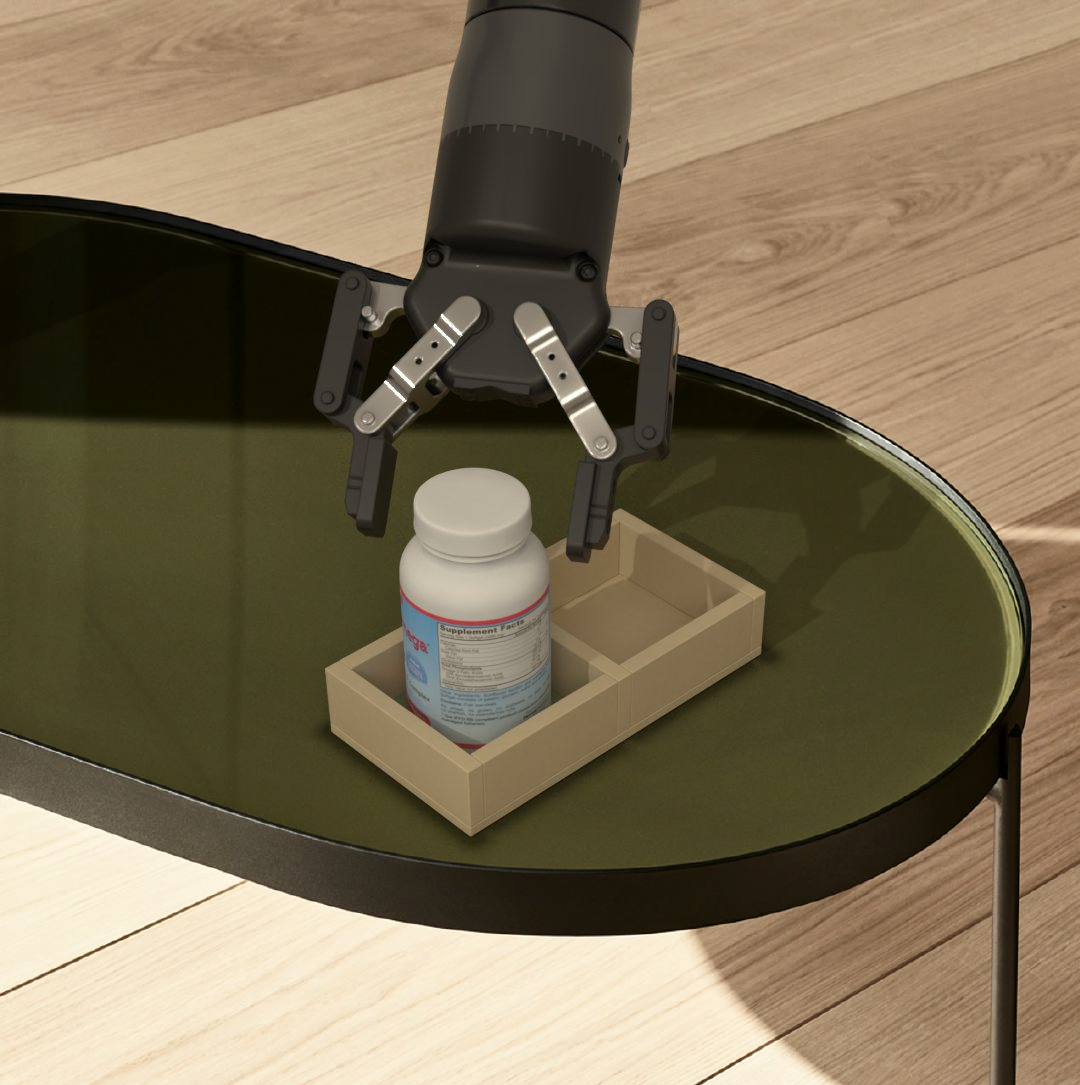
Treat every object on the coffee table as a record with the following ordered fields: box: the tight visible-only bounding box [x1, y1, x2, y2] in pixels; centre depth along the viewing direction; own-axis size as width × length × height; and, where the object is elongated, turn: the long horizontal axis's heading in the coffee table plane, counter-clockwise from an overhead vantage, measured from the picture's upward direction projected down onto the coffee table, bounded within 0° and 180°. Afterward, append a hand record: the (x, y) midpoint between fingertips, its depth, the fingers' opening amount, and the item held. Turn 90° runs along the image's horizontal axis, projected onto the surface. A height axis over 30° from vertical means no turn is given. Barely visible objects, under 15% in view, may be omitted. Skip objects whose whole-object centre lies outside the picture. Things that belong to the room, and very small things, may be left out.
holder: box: [324, 508, 767, 837], centre depth 85 cm, size 17×9×4 cm, turn 133°
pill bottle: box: [398, 467, 551, 755], centre depth 80 cm, size 6×6×11 cm
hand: (473, 546), depth 78 cm, fingers open, 8 cm apart
